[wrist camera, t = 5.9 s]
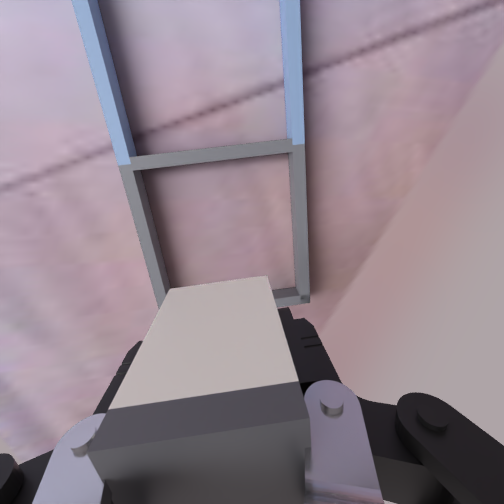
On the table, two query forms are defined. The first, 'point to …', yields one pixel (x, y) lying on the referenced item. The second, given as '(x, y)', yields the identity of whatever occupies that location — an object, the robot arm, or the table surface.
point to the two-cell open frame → (133, 164)
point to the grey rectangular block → (208, 405)
